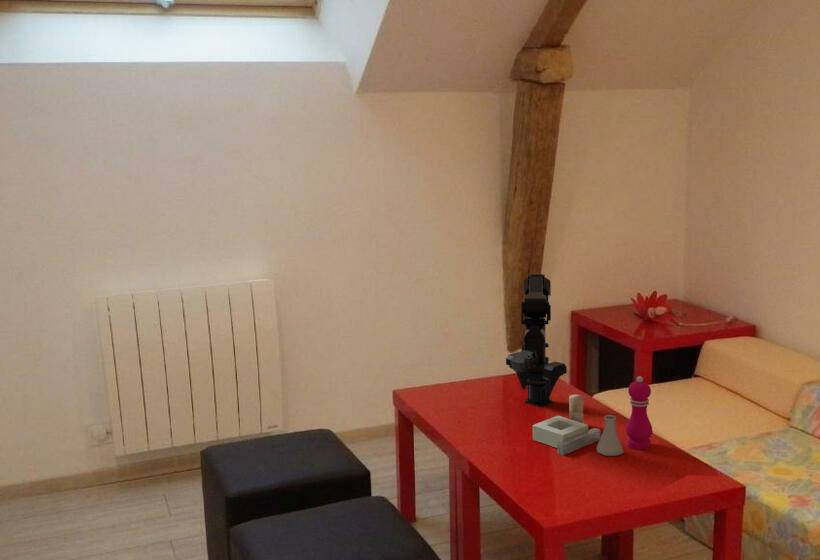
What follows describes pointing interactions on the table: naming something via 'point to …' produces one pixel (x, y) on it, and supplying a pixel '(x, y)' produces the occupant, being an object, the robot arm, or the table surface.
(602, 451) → the flask
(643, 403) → the pepper mill
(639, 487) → the table surface
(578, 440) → the bar
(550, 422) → the block
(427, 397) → the table surface
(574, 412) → the dowel
